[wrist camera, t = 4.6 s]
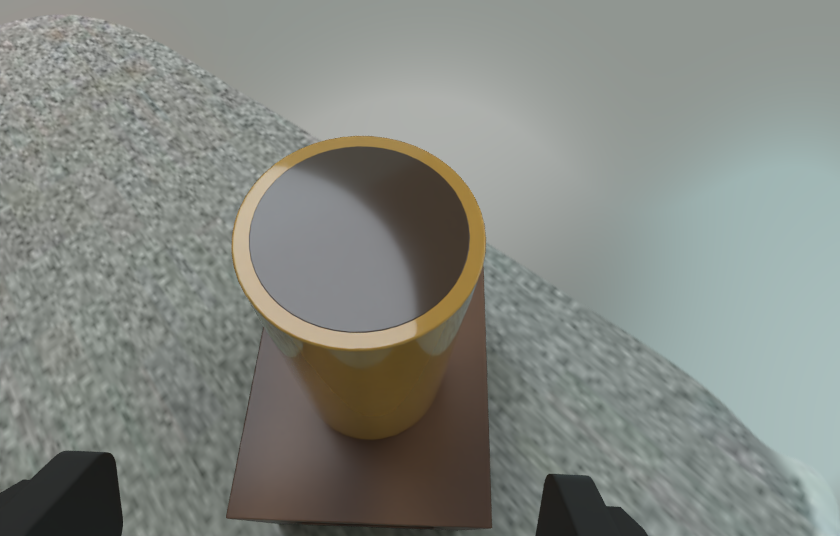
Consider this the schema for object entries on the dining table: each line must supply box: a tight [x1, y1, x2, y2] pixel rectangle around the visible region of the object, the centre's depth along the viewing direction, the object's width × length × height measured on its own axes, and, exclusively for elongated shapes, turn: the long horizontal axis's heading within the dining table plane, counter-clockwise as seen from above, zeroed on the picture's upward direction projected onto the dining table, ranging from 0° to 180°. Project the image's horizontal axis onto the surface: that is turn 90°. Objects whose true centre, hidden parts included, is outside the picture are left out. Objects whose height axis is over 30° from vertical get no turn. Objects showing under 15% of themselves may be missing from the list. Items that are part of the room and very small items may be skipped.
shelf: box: [226, 266, 492, 531], centre depth 26 cm, size 10×14×10 cm
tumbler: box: [232, 136, 486, 440], centre depth 17 cm, size 6×6×11 cm
